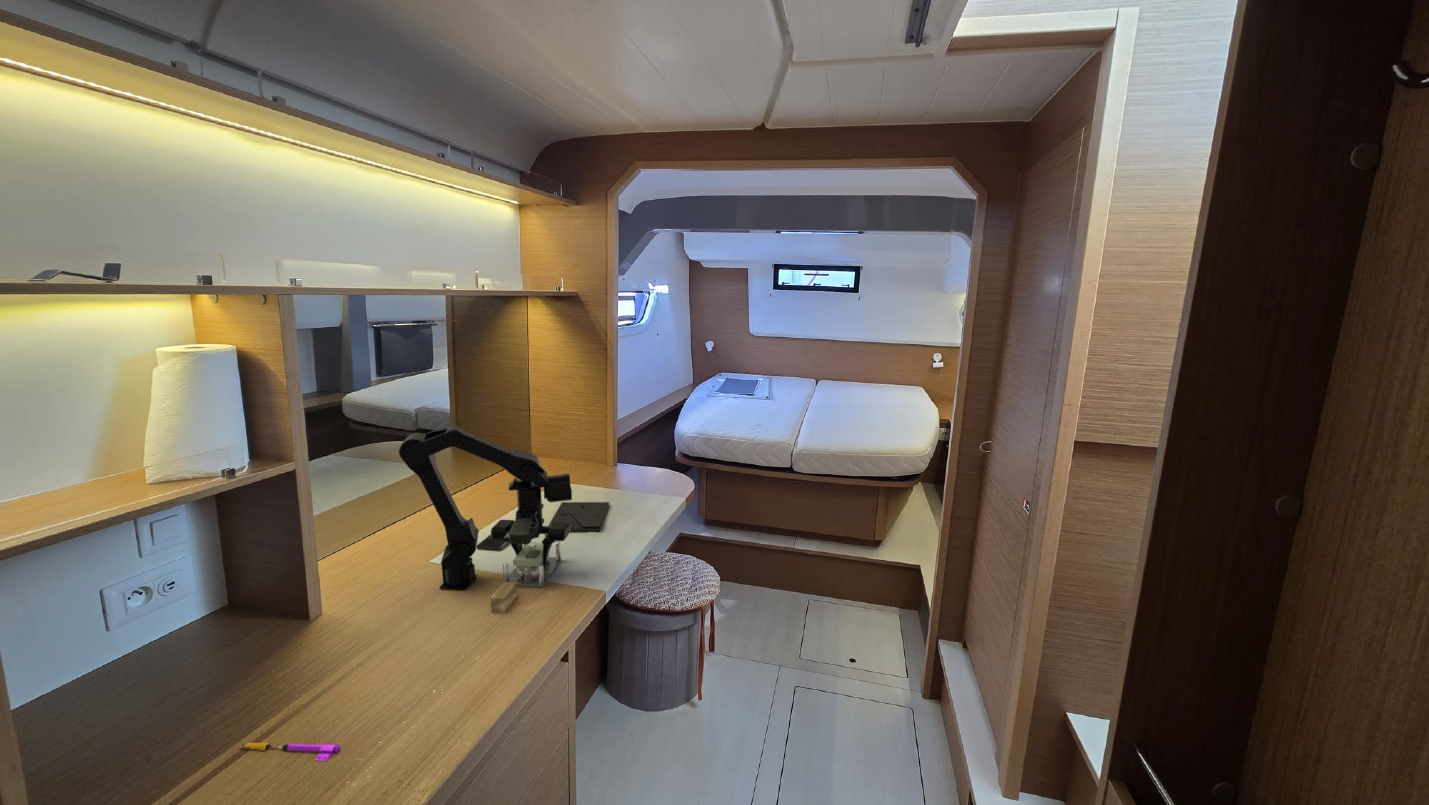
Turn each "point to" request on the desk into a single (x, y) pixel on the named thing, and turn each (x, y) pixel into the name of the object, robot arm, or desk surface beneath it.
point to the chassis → (533, 571)
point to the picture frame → (582, 515)
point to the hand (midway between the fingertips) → (532, 561)
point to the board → (529, 555)
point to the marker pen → (305, 748)
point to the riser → (503, 597)
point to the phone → (492, 544)
